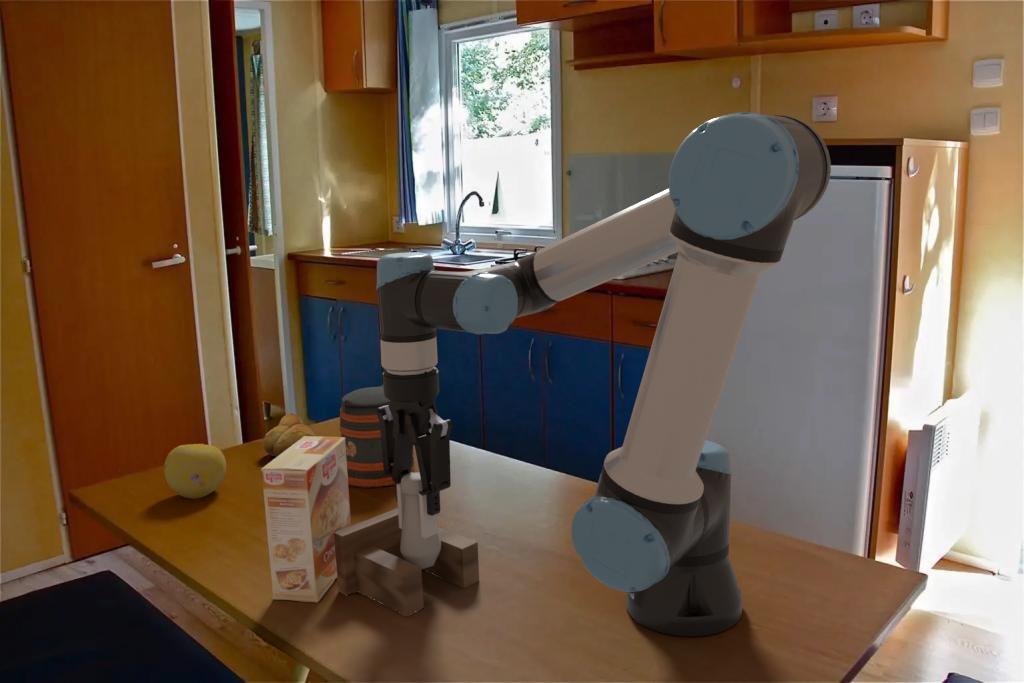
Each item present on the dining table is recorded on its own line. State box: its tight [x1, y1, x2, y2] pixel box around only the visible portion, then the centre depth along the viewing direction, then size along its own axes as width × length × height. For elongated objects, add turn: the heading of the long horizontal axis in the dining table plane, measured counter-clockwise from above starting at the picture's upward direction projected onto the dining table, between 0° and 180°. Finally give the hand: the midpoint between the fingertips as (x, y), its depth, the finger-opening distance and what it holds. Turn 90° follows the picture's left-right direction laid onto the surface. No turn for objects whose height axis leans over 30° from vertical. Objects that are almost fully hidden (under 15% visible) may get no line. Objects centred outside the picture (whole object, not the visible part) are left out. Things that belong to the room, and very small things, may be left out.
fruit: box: [164, 443, 227, 500], centre depth 164 cm, size 10×11×10 cm
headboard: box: [334, 507, 480, 617], centre depth 126 cm, size 13×17×9 cm
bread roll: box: [263, 412, 316, 458], centre depth 185 cm, size 13×10×8 cm
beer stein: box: [339, 384, 416, 489], centre depth 172 cm, size 19×15×20 cm
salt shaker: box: [400, 471, 441, 570], centre depth 124 cm, size 6×6×13 cm
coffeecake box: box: [260, 435, 352, 603], centre depth 129 cm, size 15×7×20 cm, turn 170°
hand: (419, 529), depth 124 cm, fingers closed on salt shaker, 4 cm apart
